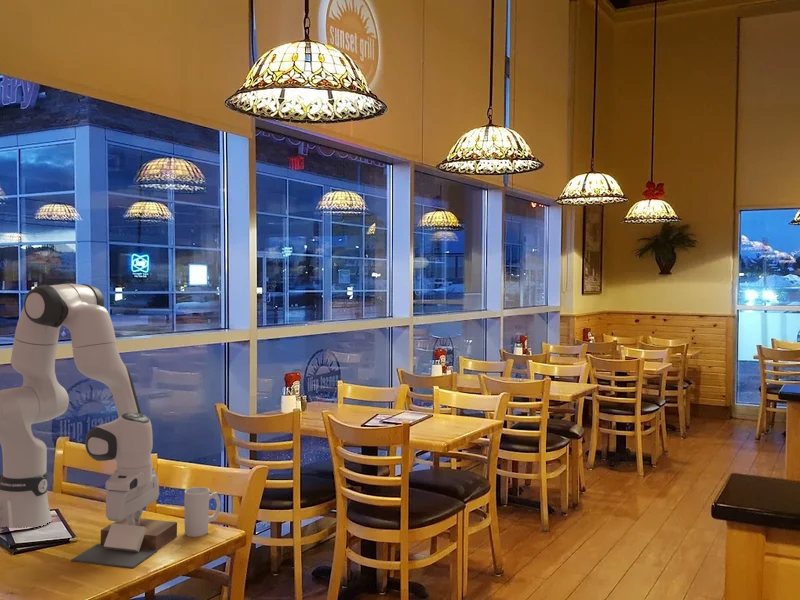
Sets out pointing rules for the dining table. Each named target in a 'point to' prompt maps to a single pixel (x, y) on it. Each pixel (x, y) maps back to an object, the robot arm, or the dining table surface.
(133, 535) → the grey flat block
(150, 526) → the riser board
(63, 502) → the dining table surface
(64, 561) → the dining table surface
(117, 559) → the bar mat
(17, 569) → the dining table surface
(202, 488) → the mug
